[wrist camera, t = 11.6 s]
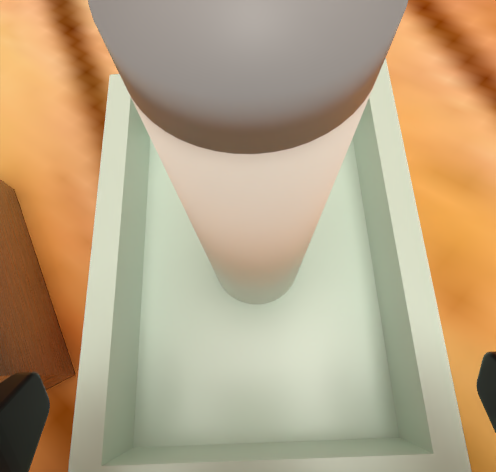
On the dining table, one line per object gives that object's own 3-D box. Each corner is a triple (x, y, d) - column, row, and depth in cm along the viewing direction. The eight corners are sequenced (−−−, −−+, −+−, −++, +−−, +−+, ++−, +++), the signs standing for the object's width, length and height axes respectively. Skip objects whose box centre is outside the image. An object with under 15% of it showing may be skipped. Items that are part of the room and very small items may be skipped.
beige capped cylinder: (258, 322, 16) (253, 168, 3) (198, 264, 17) (21, -23, 4) (314, 261, 16) (477, -44, 4) (254, 209, 17) (242, -170, 5)
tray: (421, 461, 15) (476, 492, 11) (114, 472, 15) (64, 505, 11) (362, 116, 20) (385, 57, 16) (138, 129, 20) (109, 74, 17)
